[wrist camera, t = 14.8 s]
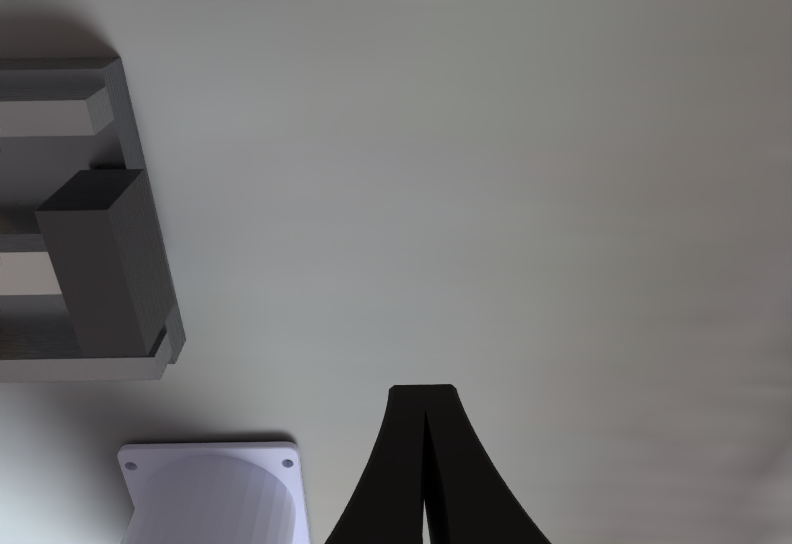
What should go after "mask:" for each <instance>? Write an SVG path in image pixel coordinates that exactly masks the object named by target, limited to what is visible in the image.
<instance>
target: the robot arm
mask: <svg viewBox="0 0 792 544" xmlns="http://www.w3.org/2000/svg"><path fill="white" fill-rule="evenodd" d="M117 458H118V461H119V464H120V467H121V470H122V473H123V476H124V479H125V482H126V484H127V487H128V490H129V493H130V496H131V499H132V502H133V505H134V508H135V511H134V513H133V516H132V518H131V520H130V523H129V525H128V528H127V530H126V532H125V535H124V537H123V540H122V542H121V544H311V539H310V532H309V524H308V517H307V509H306V501H305V494H304V486H303V479H302V471H301V463H300V456H299V449H298V447H297V446H296V445H295V444H294V443H292V442H232V443H176V444H128V445H124V446H122V447H121V448H120V450H119V452H118V454H117ZM286 459H288V460H291V461H287V460H286ZM131 462H132V463H131ZM424 501H425V508H426V515H427V522H428V529H429V536H430V542H431V544H551V543H550V541H549V540H548V539H547V538H546V537H545V536H544V534H543V533H542V532H541V531H540V530H539V528H538V527H537V526H536V524H535V523H534V522H533V521H532V519H531V518H530V517H529V516H528V514H527V513H526V512H525V510H524V509H523V508H522V506H521V505H520V504H519V502H518V501H517V499H516V498H515V497H514V495H513V494H512V492H511V491H510V489H509V488H508V486H507V485H506V483H505V482H504V480H503V479H502V477H501V476H500V474H499V473H498V471H497V469H496V468H495V466H494V465H493V463H492V461H491V460H490V458H489V456H488V454H487V453H486V451H485V449H484V448H483V446H482V444H481V442H480V441H479V439H478V437H477V435H476V433H475V431H474V429H473V427H472V425H471V423H470V421H469V419H468V417H467V415H466V413H465V411H464V408H463V406H462V404H461V401H460V398H459V396H458V393H457V389H456V388H455V387H454V386H453V385H452V384H435V385H394V386H393V387H391V388H390V389H389V396H388V402H387V407H386V411H385V415H384V419H383V422H382V425H381V428H380V431H379V434H378V437H377V440H376V442H375V445H374V447H373V450H372V453H371V455H370V458H369V460H368V463H367V465H366V467H365V469H364V471H363V474H362V476H361V478H360V480H359V482H358V484H357V486H356V489H355V491H354V493H353V495H352V497H351V499H350V501H349V502H348V504H347V506H346V508H345V510H344V512H343V514H342V515H341V517H340V519H339V521H338V522H337V524H336V526H335V528H334V529H333V531H332V533H331V534H330V536H329V537H328V539H327V540H326V542H325V544H423V536H422V533H423V511H424Z"/></svg>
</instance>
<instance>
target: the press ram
mask: <svg viewBox="0 0 792 544" xmlns="http://www.w3.org/2000/svg"><path fill="white" fill-rule="evenodd" d="M34 213H35V216H36V219H37V222H38V225H39V228H40V231H41V234H2V235H0V295H45V294H62V295H63V298H64V301H65V304H66V307H67V310H68V313H69V316H70V319H71V322H72V325H73V328H74V331H75V334H76V337H77V339H78V342H79V345H80V348H81V351H82V354H83V357H89V356H147V355H148V353H149V351H150V350H151V348H152V346H153V344H154V342H155V340H156V338H157V336H158V334H159V332H160V330H161V329H162V327H163V325H164V323H165V321H166V319H167V317H168V315H169V313H170V311H171V309H172V308H173V306H174V304H175V299H174V295H173V290H172V286H171V282H170V277H169V273H168V269H167V265H166V260H165V256H164V252H163V247H162V243H161V239H160V234H159V230H158V226H157V222H156V217H155V213H154V209H153V204H152V200H151V196H150V192H149V187H148V183H147V179H146V174H145V170H144V169H109V170H80V171H79V172H77V173H76V174H75V175H74V176H73V177H72V178H71V179H70V180H68V181H67V182H66V183H65V184H64V185H63V186H62V187H61V188H59V189H58V190H57V191H56V192H55V193H54V194H53V195H52V196H50V197H49V198H48V199H47V200H46V201H45V202H44V203H43V204H42V205H40V206H39V207H38V208H37V209H36V210H35V211H34Z"/></svg>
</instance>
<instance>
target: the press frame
mask: <svg viewBox="0 0 792 544" xmlns="http://www.w3.org/2000/svg"><path fill="white" fill-rule="evenodd" d="M109 169H144V170H145V174H146V179H147V183H148V187H149V192H150V196H151V200H152V204H153V209H154V213H155V217H156V222H157V226H158V230H159V234H160V239H161V243H162V247H163V252H164V256H165V260H166V265H167V269H168V273H169V277H170V282H171V286H172V290H173V295H174V299H175V304H174V306H173V308H172V309H171V311H170V313H169V315H168V317H167V319H166V321H165V323H164V325H163V327H162V329H161V330H160V332H159V334H158V336H157V338H156V340H155V342H154V344H153V346H152V348H151V350H150V351H149V353H148V355H147V356H89V357H83V354H82V351H81V348H80V345H79V342H78V339H77V337H76V334H75V331H74V328H73V325H72V322H71V319H70V316H69V313H68V310H67V307H66V304H65V301H64V298H63V295H62V294H45V295H0V382H49V381H106V380H160V379H161V377H162V375H163V372H164V370H165V368H166V366H167V364H175V363H176V361H177V358H178V356H179V354H180V352H181V350H182V347H183V345H184V343H185V341H186V338H185V334H184V329H183V325H182V321H181V316H180V312H179V308H178V303H177V299H176V295H175V290H174V286H173V282H172V277H171V273H170V269H169V264H168V260H167V256H166V251H165V247H164V243H163V238H162V234H161V230H160V225H159V221H158V217H157V213H156V208H155V204H154V200H153V195H152V191H151V187H150V182H149V178H148V174H147V169H146V165H145V161H144V156H143V152H142V148H141V143H140V139H139V135H138V130H137V126H136V122H135V117H134V113H133V109H132V104H131V100H130V96H129V91H128V87H127V83H126V78H125V74H124V70H123V65H122V61H121V57H114V58H56V59H0V235H2V234H41V231H40V228H39V225H38V222H37V219H36V216H35V213H34V211H35V210H36V209H37V208H38V207H39V206H40V205H42V204H43V203H44V202H45V201H46V200H47V199H48V198H49V197H50V196H52V195H53V194H54V193H55V192H56V191H57V190H58V189H59V188H61V187H62V186H63V185H64V184H65V183H66V182H67V181H68V180H70V179H71V178H72V177H73V176H74V175H75V174H76V173H77V172H79V171H80V170H109Z"/></svg>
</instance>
